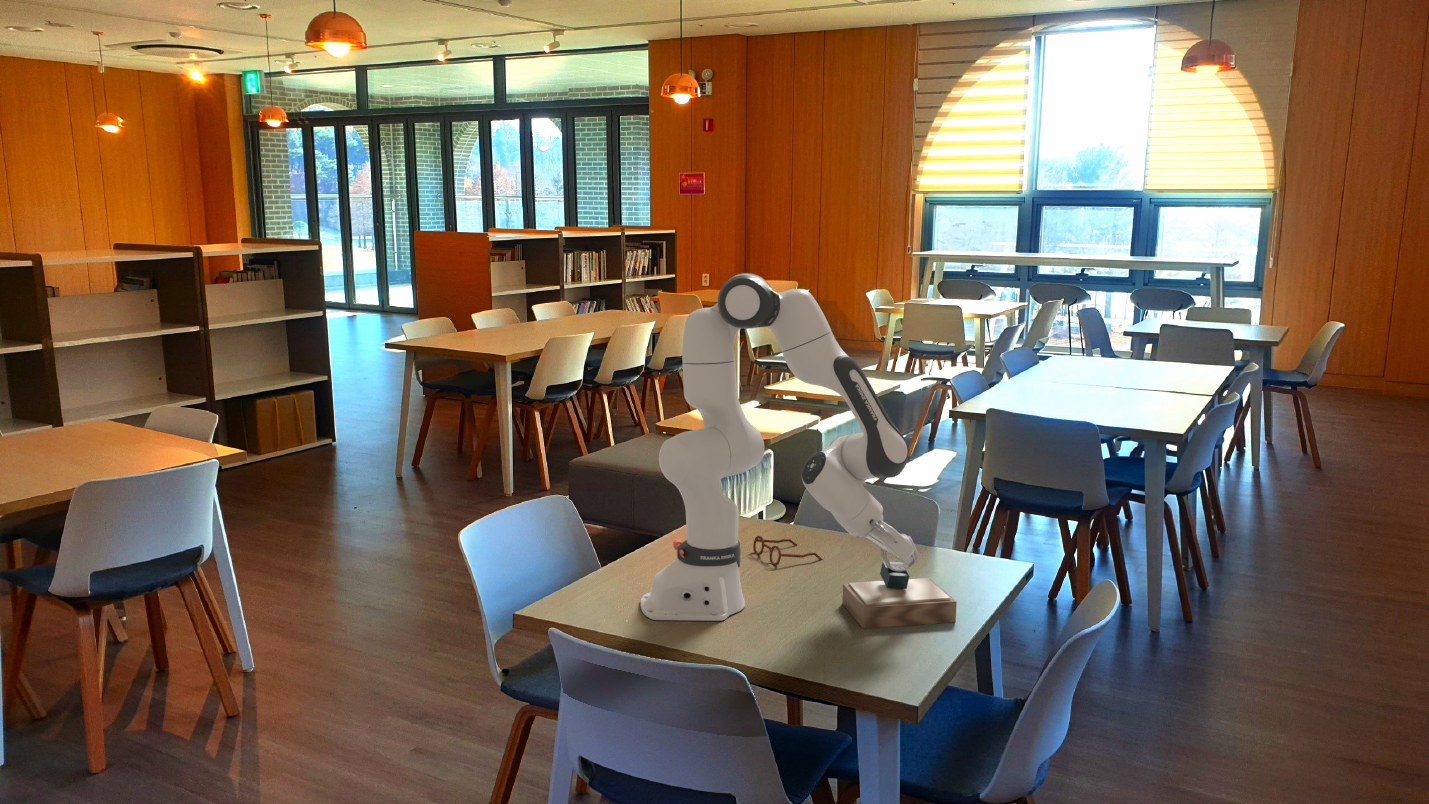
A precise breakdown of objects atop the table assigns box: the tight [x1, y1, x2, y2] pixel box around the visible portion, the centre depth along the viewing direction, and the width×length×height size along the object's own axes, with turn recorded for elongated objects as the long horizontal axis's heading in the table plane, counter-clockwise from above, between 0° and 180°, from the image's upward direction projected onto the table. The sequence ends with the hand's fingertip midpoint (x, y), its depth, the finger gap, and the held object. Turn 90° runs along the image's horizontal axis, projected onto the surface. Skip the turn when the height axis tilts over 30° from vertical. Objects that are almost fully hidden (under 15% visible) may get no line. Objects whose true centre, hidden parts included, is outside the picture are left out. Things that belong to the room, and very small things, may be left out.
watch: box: [879, 533, 920, 589], centre depth 214 cm, size 6×8×11 cm
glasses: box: [753, 535, 823, 566], centre depth 251 cm, size 13×13×5 cm
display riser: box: [841, 577, 958, 629], centre depth 215 cm, size 20×14×5 cm
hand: (902, 556), depth 213 cm, fingers open, 5 cm apart
